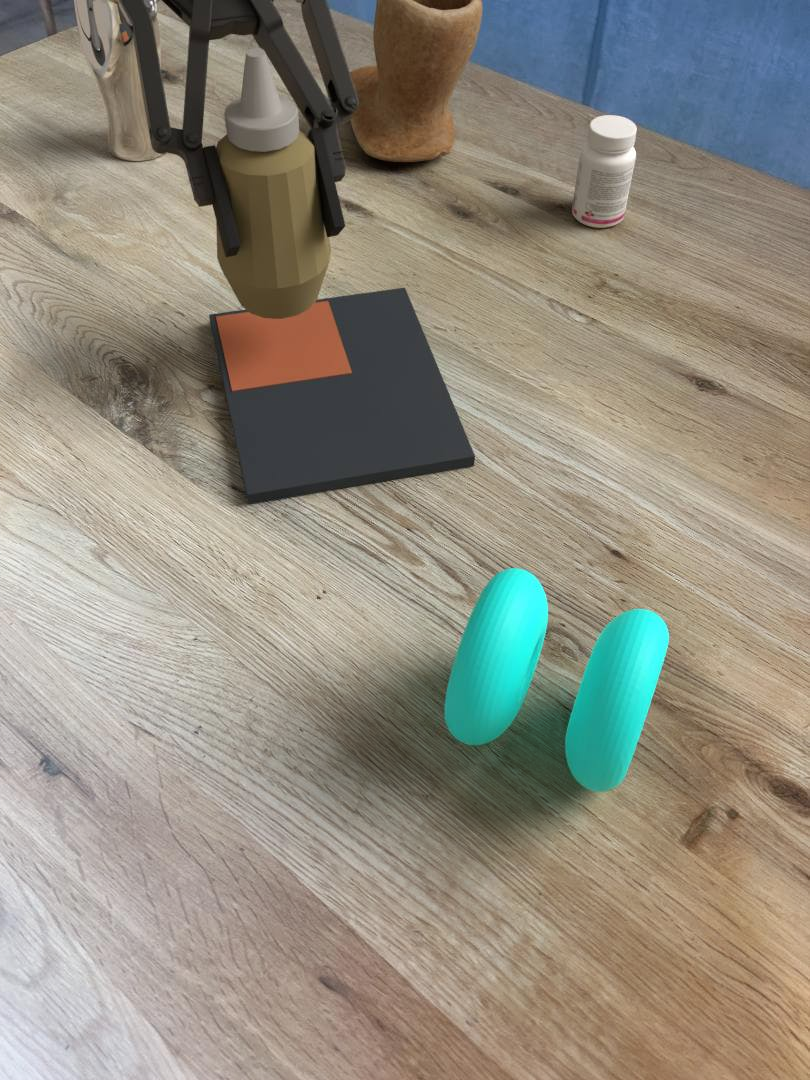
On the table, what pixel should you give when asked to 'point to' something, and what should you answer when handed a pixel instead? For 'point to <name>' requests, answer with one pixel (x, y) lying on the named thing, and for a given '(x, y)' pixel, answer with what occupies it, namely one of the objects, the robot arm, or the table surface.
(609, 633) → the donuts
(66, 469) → the table surface
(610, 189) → the pill bottle
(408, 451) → the mat
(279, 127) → the squeeze bottle
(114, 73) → the chrome sculpted vase
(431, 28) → the stone cup
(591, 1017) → the table surface
